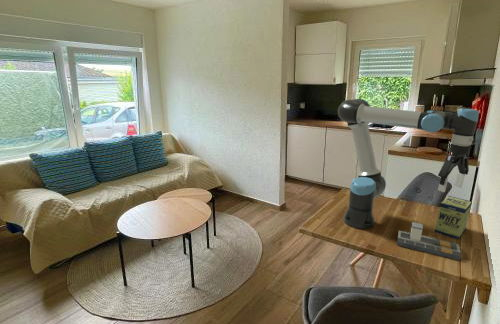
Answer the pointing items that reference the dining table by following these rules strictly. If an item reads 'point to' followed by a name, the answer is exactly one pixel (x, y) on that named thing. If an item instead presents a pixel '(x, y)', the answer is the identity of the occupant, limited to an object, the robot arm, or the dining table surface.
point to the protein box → (453, 217)
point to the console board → (430, 245)
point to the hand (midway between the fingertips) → (449, 188)
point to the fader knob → (416, 231)
